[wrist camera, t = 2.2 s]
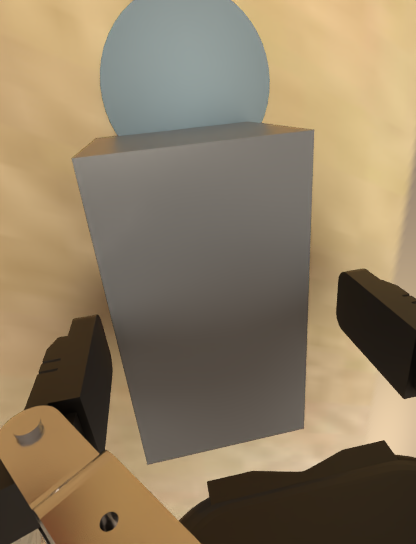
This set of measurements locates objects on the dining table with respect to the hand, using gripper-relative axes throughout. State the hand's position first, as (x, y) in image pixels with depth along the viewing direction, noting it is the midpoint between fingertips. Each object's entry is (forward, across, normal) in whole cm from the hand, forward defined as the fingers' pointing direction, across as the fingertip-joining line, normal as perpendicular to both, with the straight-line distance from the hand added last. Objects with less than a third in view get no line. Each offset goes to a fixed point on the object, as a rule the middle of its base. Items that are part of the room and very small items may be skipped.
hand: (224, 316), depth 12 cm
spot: (+7, 0, -7) cm, 10 cm away
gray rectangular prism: (+7, 0, 0) cm, 7 cm away
